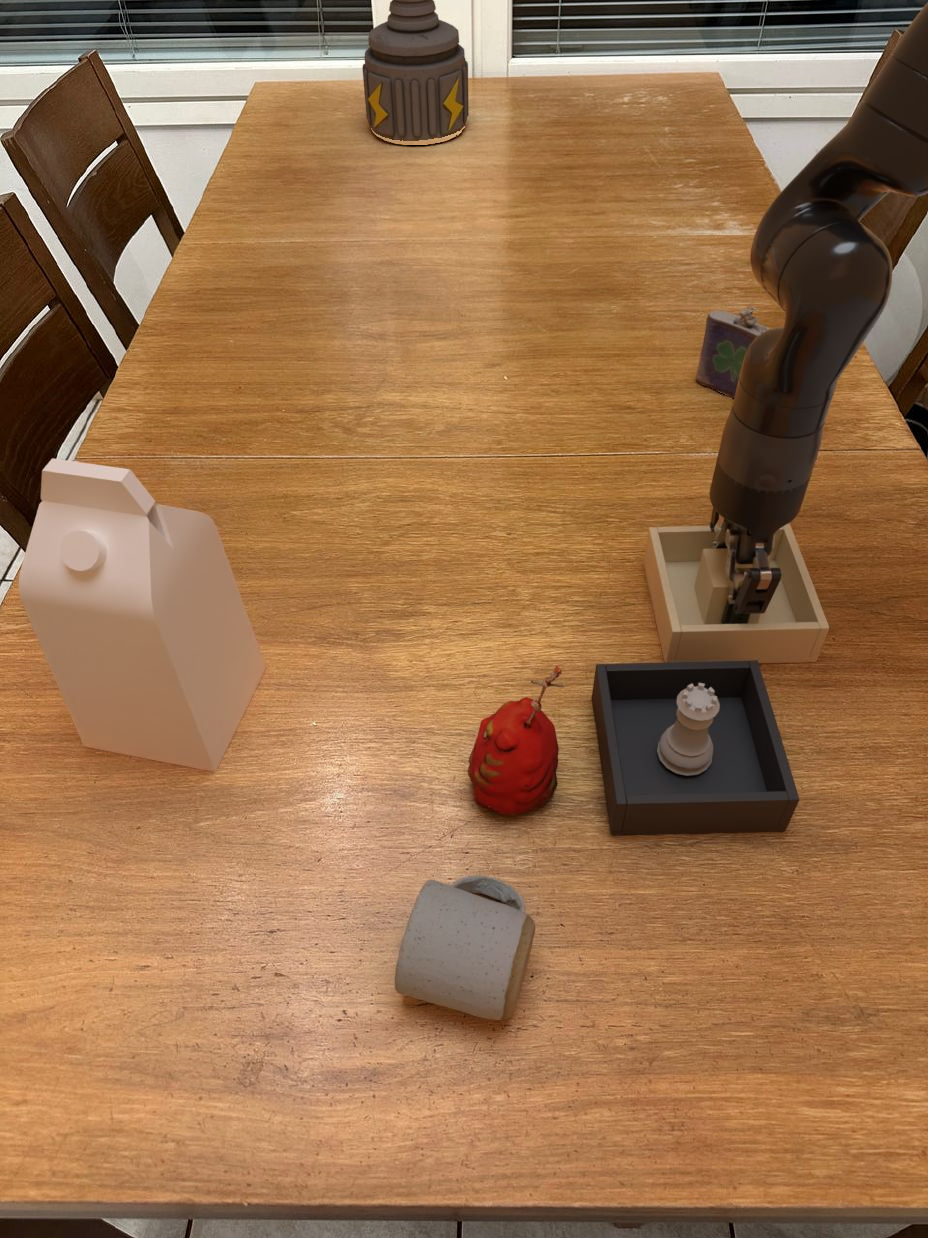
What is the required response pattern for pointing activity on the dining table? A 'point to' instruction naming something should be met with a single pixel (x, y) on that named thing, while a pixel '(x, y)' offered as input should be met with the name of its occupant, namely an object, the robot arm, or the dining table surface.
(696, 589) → the cream block
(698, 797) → the charcoal bin
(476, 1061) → the dining table surface
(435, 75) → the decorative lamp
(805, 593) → the ivory bin
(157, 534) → the milk
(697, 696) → the rook chess piece
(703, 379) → the flask
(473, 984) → the ceramic mug
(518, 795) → the red clay folk toy
